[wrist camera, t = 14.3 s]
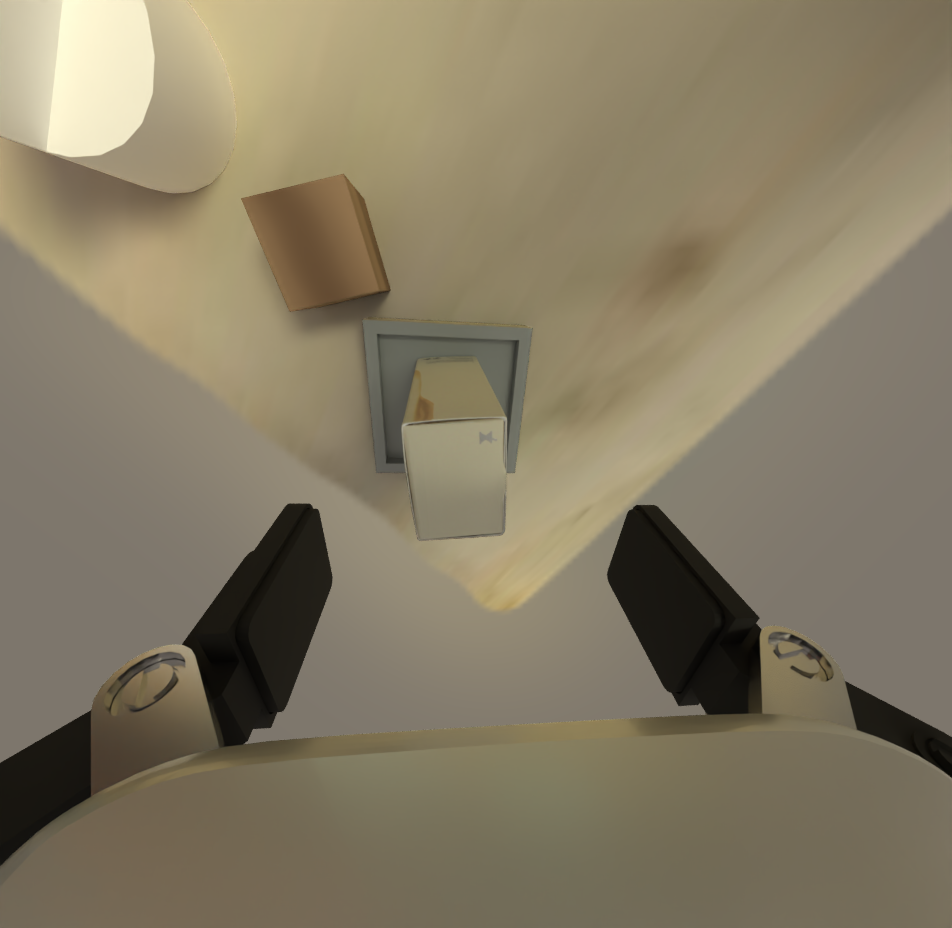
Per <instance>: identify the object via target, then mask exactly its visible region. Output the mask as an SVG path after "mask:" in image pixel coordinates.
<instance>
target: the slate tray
mask: <svg viewBox="0 0 952 928" xmlns="http://www.w3.org/2000/svg"><path fill="white" fill-rule="evenodd" d="M532 329H533V328H531V327H528V326H526V325H510V324H491V323H472V322H452V321H433V320H414V319H394V318H375V317H368V318H365V319H363V331H364V342H365V353H366V364H367V375H368V386H369V397H370V408H371V419H372V430H373V442H374V453H375V464H376V473H406V471H405V464H404V455H403V444H402V432H401V427H402V422H403V419H404V415H405V411H406V407H407V403H408V398H409V394H410V389H411V385H412V380H413V376H414V372H415V367H416V363H417V360H418V359H419V358H430V357H450V356H475V357H476V358H477V360H478V362H479V364H480V366H481V368H482V370H483V372H484V374H485V376H486V378H487V380H488V382H489V384H490V386H491V388H492V390H493V391H494V393H495V396H496V397H497V399H498V401H499V403H500V405H501V407H502V409H503V411H504V414H505V415H506V417H507V465H506V473H515V468H516V459H517V451H518V443H519V435H520V427H521V419H522V411H523V402H524V394H525V386H526V378H527V370H528V362H529V353H530V345H531V337H532Z"/></svg>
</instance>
